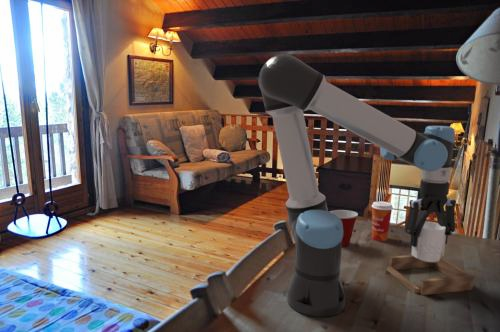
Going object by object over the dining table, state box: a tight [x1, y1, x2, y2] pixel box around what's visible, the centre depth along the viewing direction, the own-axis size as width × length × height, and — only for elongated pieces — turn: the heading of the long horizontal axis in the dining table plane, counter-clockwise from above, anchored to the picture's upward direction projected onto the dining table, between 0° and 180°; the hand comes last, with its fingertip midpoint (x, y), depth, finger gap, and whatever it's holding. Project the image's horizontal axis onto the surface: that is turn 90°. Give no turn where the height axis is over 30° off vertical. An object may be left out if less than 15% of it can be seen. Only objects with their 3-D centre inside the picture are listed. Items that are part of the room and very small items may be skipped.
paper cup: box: [371, 200, 394, 242], centre depth 143 cm, size 8×8×14 cm
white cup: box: [418, 220, 446, 262], centre depth 111 cm, size 8×8×10 cm
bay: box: [386, 254, 475, 296], centre depth 113 cm, size 18×16×4 cm
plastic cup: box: [329, 209, 359, 247], centre depth 138 cm, size 11×11×12 cm
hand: (427, 255), depth 112 cm, fingers closed on white cup, 7 cm apart
